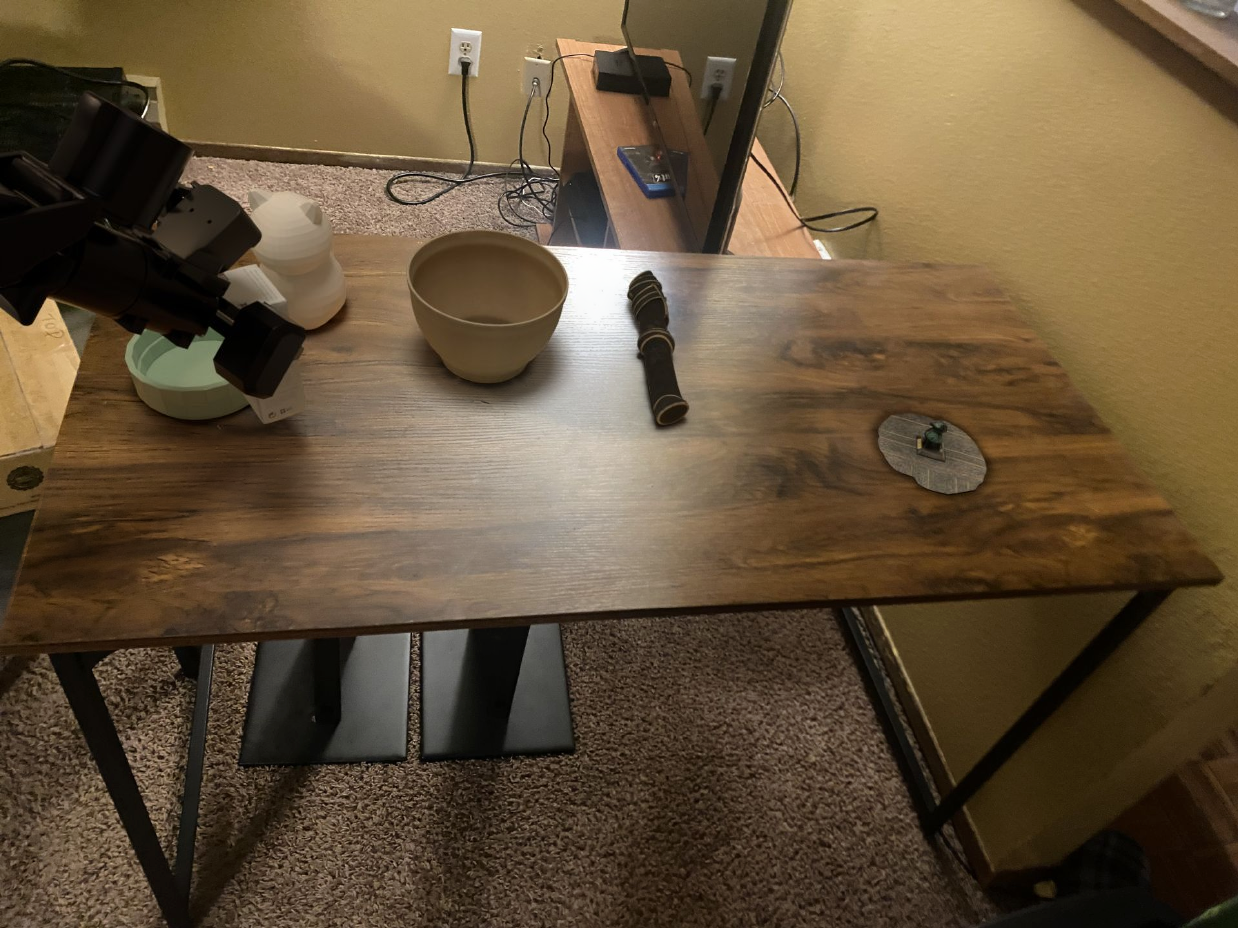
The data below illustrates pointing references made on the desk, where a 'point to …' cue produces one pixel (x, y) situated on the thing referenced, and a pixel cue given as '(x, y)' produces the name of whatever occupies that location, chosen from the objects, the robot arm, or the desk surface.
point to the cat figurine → (298, 255)
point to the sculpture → (932, 453)
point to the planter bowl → (486, 300)
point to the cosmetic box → (290, 392)
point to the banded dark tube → (657, 347)
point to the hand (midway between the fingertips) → (273, 334)
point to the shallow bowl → (181, 377)
